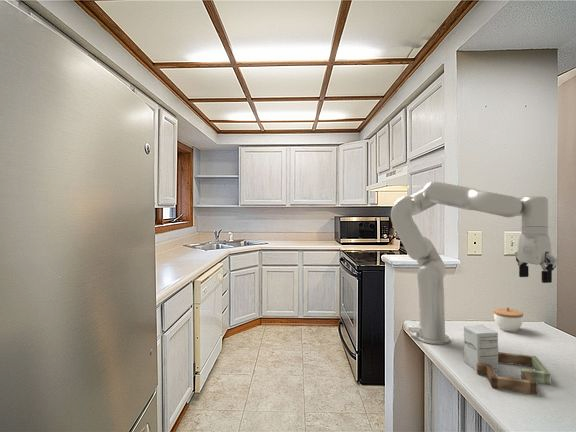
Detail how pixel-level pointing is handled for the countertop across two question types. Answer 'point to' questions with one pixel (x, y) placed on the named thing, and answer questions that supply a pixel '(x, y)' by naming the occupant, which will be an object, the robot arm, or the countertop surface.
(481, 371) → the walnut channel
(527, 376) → the brown wooden bent piece
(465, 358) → the supplement box
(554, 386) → the countertop surface
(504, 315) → the lidded jar
